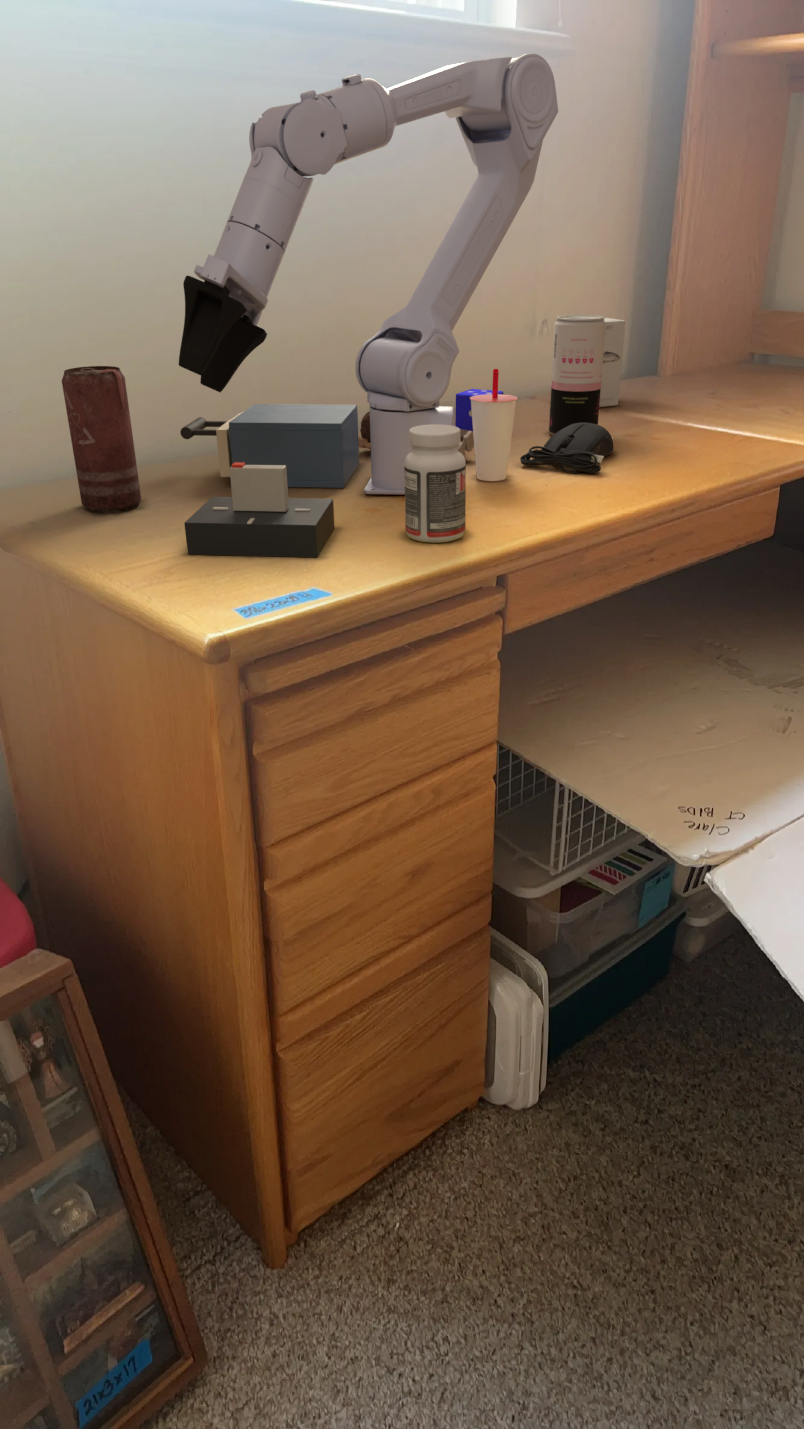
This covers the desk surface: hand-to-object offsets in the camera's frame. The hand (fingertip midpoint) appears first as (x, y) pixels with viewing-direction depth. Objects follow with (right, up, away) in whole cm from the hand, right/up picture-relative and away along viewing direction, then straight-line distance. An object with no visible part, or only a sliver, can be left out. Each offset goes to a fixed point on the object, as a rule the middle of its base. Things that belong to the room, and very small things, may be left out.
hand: (200, 379), depth 92 cm
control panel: (+6, -15, +1) cm, 16 cm away
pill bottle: (+22, -14, +2) cm, 26 cm away
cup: (+29, -4, +22) cm, 37 cm away
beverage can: (+42, +7, +43) cm, 61 cm away
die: (+30, +9, +47) cm, 56 cm away
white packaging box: (+48, +17, +63) cm, 81 cm away
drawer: (+2, -2, +24) cm, 24 cm away
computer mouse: (+41, 0, +30) cm, 50 cm away
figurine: (+21, +2, +33) cm, 39 cm away
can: (-12, -9, +13) cm, 20 cm away
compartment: (+7, -3, +24) cm, 25 cm away
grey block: (+6, -12, 0) cm, 14 cm away
